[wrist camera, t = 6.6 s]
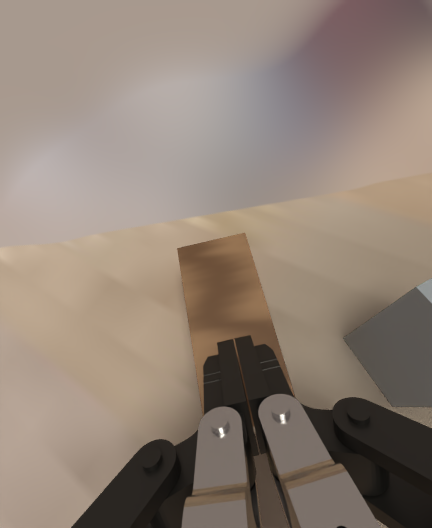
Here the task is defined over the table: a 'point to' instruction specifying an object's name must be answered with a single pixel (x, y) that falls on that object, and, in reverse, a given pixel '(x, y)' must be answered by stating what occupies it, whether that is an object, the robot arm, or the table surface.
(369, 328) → the grey block
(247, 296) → the walnut block
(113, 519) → the robot arm
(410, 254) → the table surface
